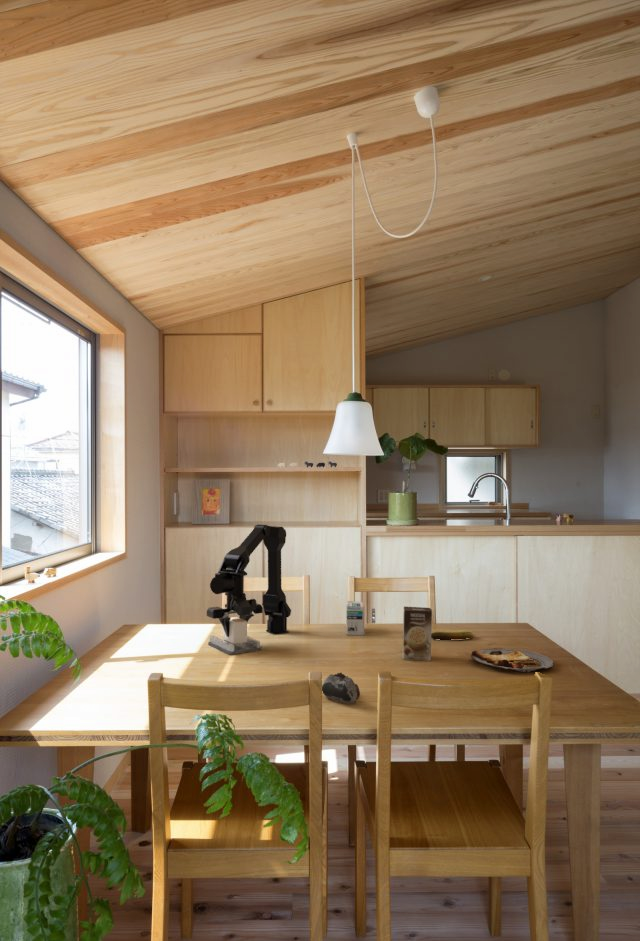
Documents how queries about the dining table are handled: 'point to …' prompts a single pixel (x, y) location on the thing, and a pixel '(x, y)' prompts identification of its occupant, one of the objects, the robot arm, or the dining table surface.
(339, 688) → the dark grey rounded lump
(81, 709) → the dining table surface
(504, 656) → the food plate
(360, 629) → the light bulb box
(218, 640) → the rail plate
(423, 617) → the coffee box
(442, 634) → the green pickle
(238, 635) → the module block
